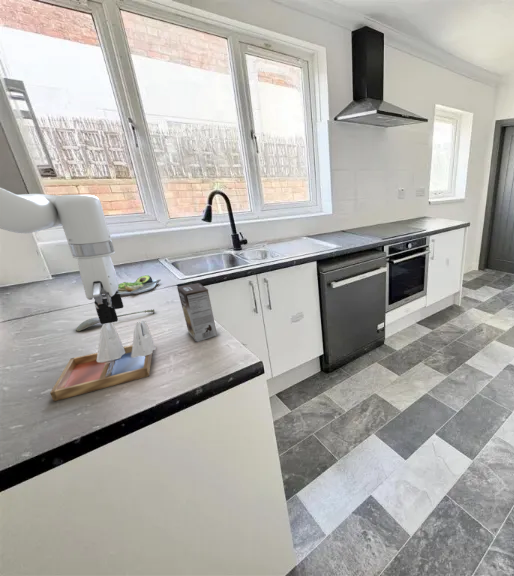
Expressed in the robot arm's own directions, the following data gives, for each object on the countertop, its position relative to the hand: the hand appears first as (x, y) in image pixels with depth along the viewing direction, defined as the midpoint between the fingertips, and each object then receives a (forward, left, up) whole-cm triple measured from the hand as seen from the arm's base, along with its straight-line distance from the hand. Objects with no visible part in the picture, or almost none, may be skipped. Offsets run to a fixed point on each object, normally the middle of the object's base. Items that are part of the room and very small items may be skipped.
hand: (113, 315), depth 78 cm
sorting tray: (-4, 0, -15) cm, 16 cm away
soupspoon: (-7, +38, -15) cm, 42 cm away
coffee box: (+18, +10, -15) cm, 26 cm away
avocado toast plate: (-5, +77, -15) cm, 79 cm away
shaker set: (0, 0, -13) cm, 13 cm away
